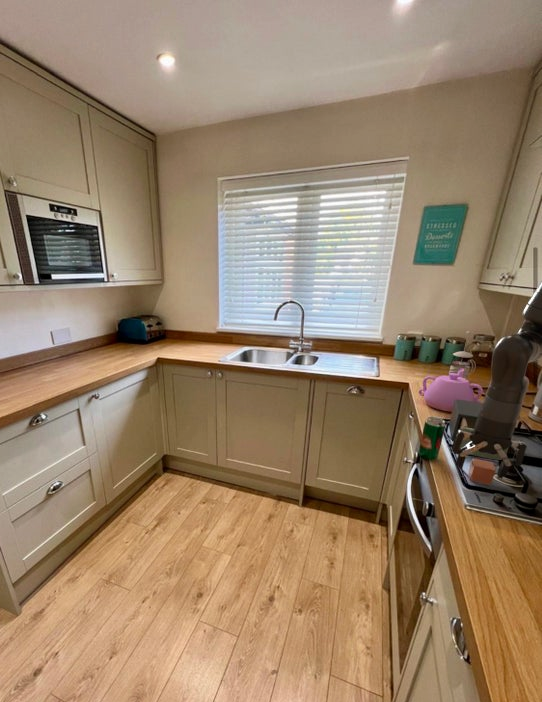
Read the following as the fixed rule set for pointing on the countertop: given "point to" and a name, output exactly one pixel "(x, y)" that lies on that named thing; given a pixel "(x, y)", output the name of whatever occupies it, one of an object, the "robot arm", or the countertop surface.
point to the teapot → (449, 391)
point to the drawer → (468, 426)
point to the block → (481, 471)
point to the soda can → (431, 438)
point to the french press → (460, 364)
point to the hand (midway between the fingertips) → (479, 471)
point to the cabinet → (462, 414)
